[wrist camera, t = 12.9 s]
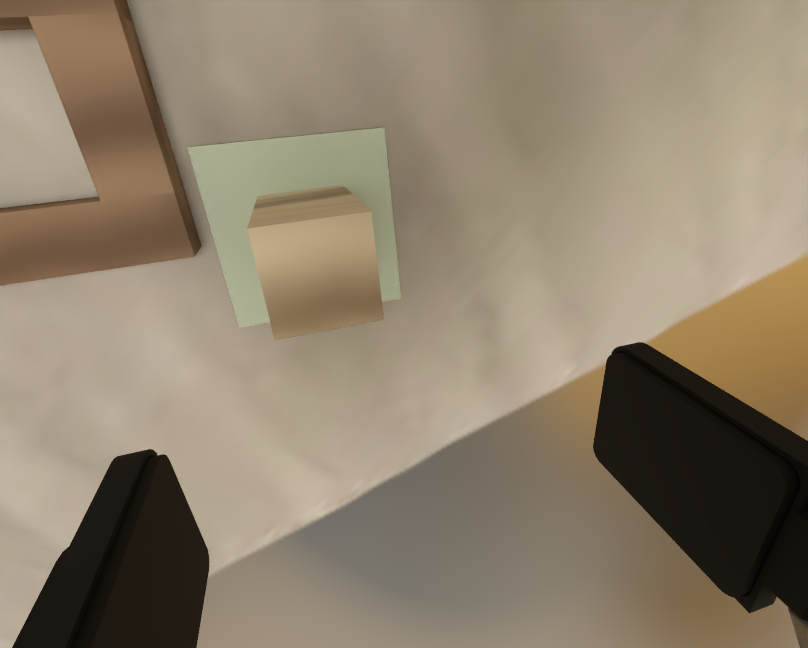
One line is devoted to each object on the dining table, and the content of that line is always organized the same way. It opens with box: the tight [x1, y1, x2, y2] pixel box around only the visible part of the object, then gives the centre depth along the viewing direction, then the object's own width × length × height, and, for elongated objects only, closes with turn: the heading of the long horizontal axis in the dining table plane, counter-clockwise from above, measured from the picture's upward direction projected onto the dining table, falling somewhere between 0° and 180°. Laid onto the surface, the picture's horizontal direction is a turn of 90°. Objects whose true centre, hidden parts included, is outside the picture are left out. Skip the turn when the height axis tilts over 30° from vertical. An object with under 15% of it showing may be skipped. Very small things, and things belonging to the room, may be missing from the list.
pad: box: [187, 127, 401, 328], centre depth 29 cm, size 12×12×1 cm
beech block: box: [247, 185, 384, 340], centre depth 24 cm, size 6×6×10 cm
